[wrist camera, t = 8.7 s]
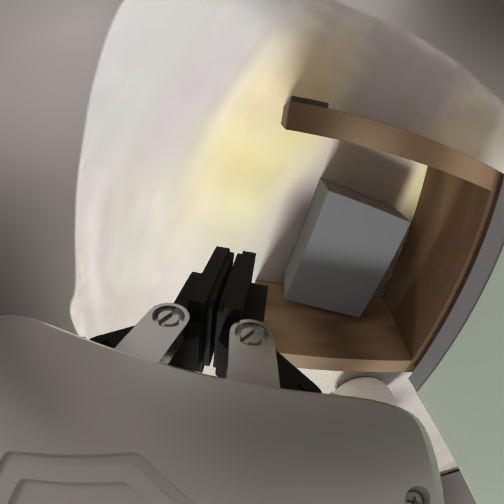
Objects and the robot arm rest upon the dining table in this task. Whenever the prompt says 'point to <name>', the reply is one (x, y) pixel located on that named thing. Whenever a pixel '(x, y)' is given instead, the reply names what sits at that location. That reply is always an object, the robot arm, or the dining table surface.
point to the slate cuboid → (343, 250)
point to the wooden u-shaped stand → (410, 262)
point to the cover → (472, 371)
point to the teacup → (367, 390)
